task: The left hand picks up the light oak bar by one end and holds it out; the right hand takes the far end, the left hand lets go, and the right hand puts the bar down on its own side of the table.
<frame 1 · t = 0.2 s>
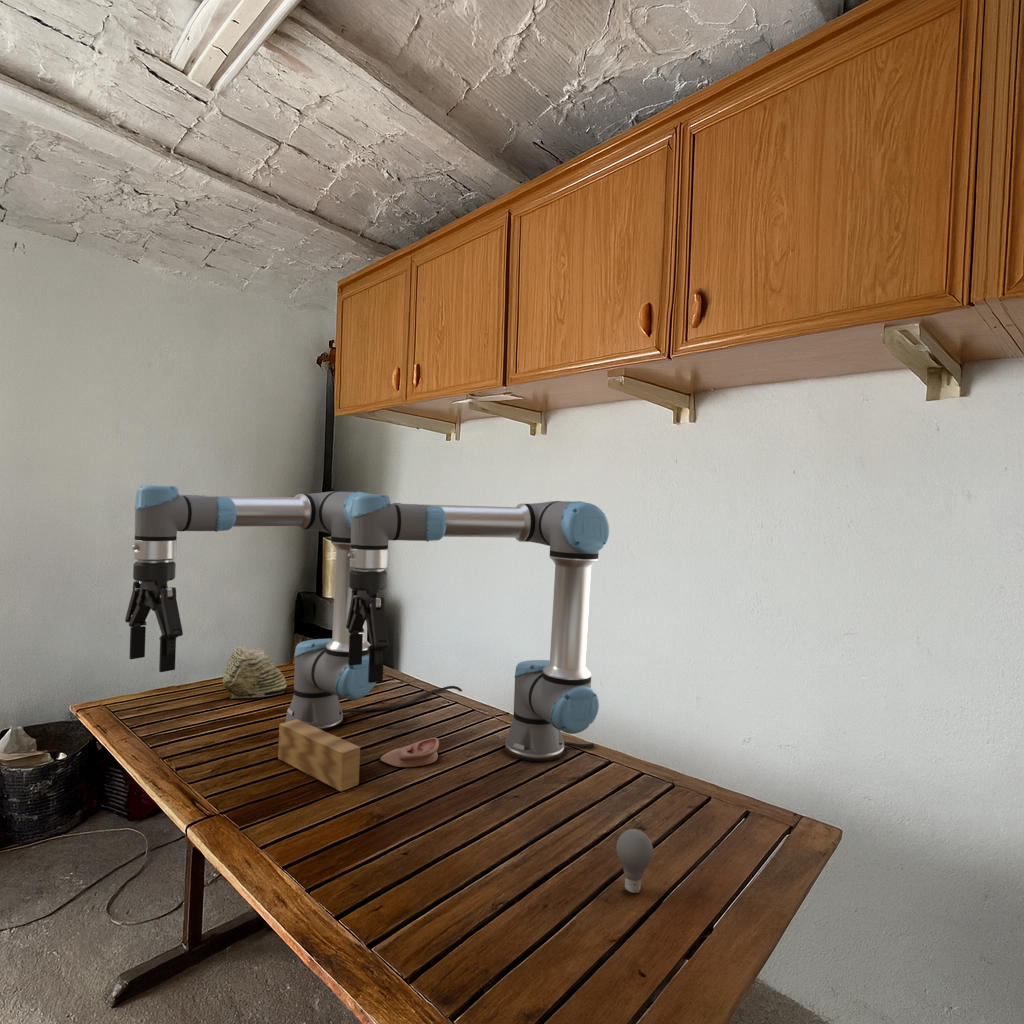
left hand: (151, 664, 130), 28 cm above the table, tool pointing down, fingers open, 13 cm apart
right hand: (364, 673, 130), 28 cm above the table, tool pointing down, fingers open, 13 cm apart
fossil: (254, 694, 198), on the table
anatomical model: (409, 759, 155), on the table
light bulb: (632, 891, 106), on the table
bar: (316, 771, 146), on the table
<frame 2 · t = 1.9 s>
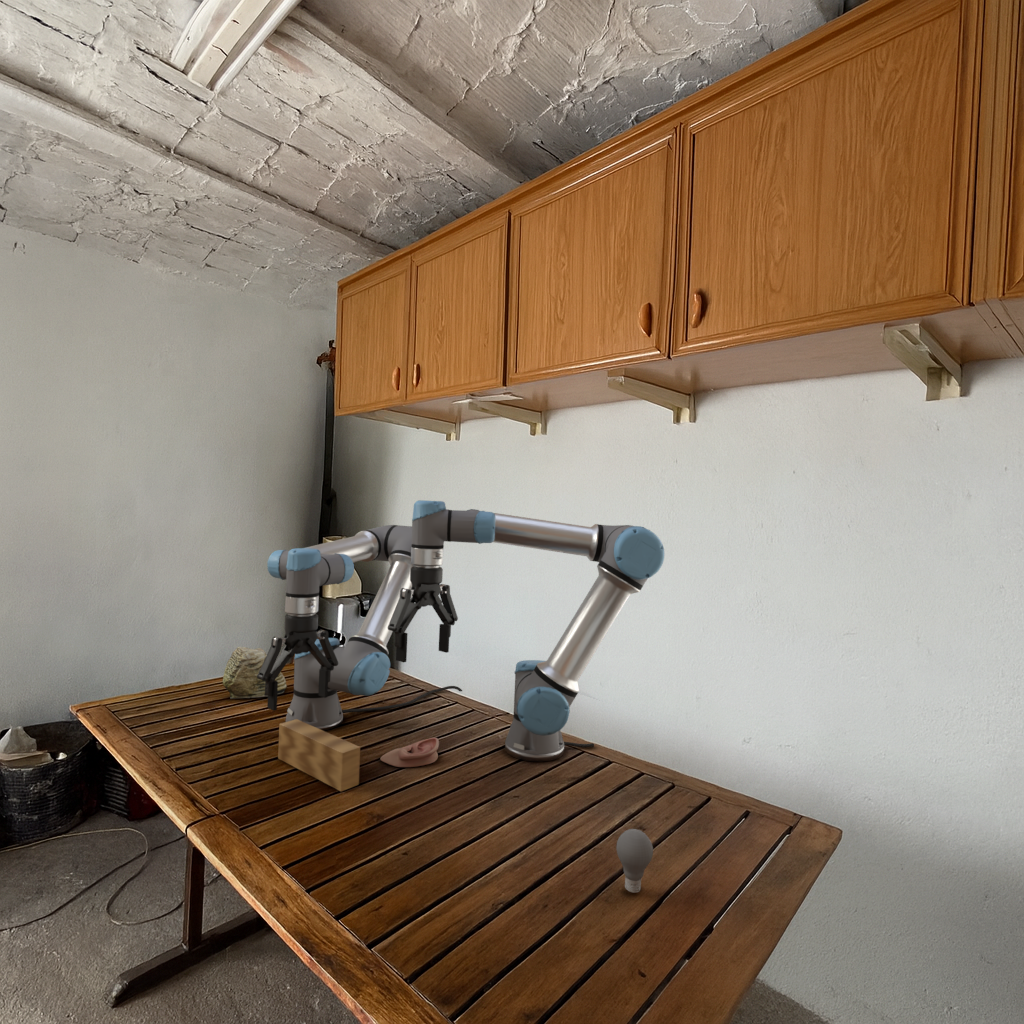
left hand: (298, 702, 151), 14 cm above the table, tool pointing down, fingers open, 13 cm apart
right hand: (423, 656, 149), 27 cm above the table, tool pointing down, fingers open, 13 cm apart
nothing on the table moved.
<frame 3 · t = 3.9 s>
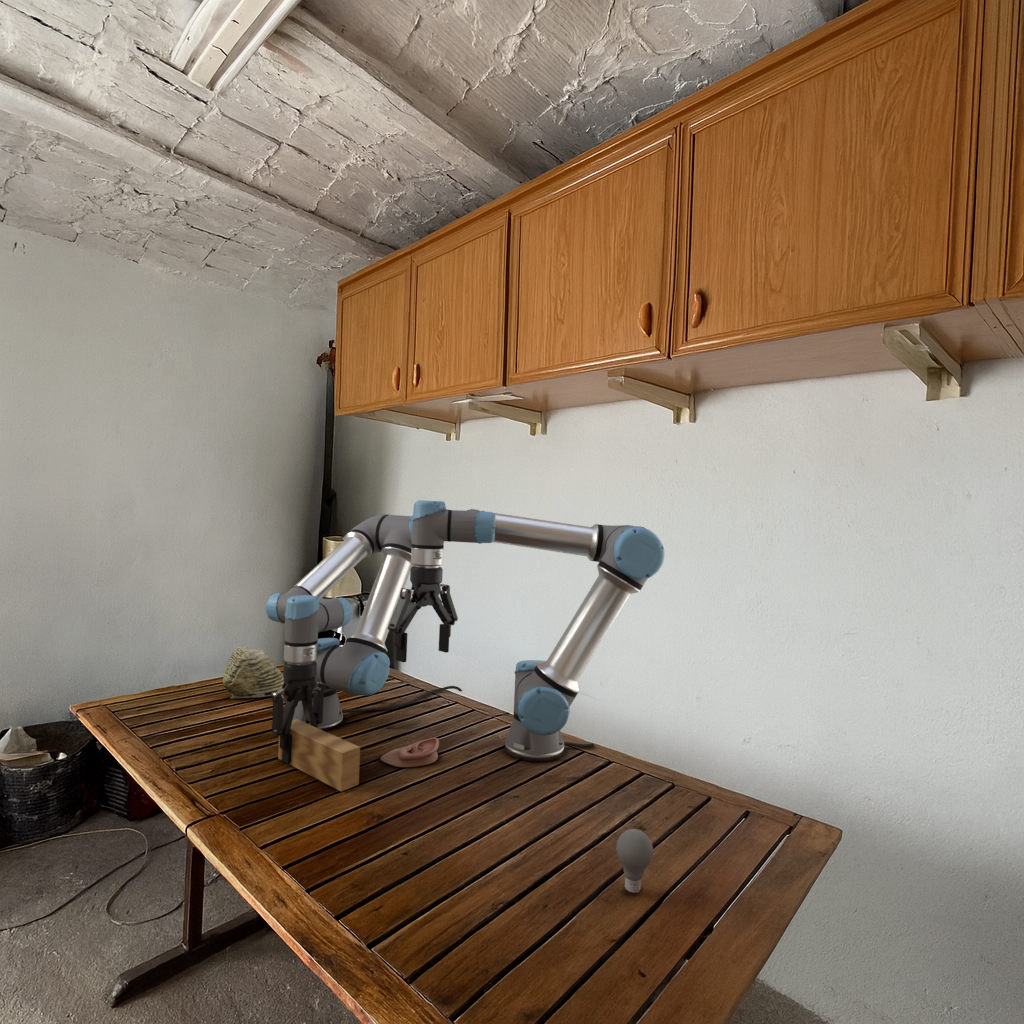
left hand: (296, 758, 151), 1 cm above the table, tool pointing down, fingers closed on bar, 5 cm apart
right hand: (423, 656, 149), 27 cm above the table, tool pointing down, fingers open, 13 cm apart
bar: (316, 771, 146), on the table, touching left hand
everything else where it was.
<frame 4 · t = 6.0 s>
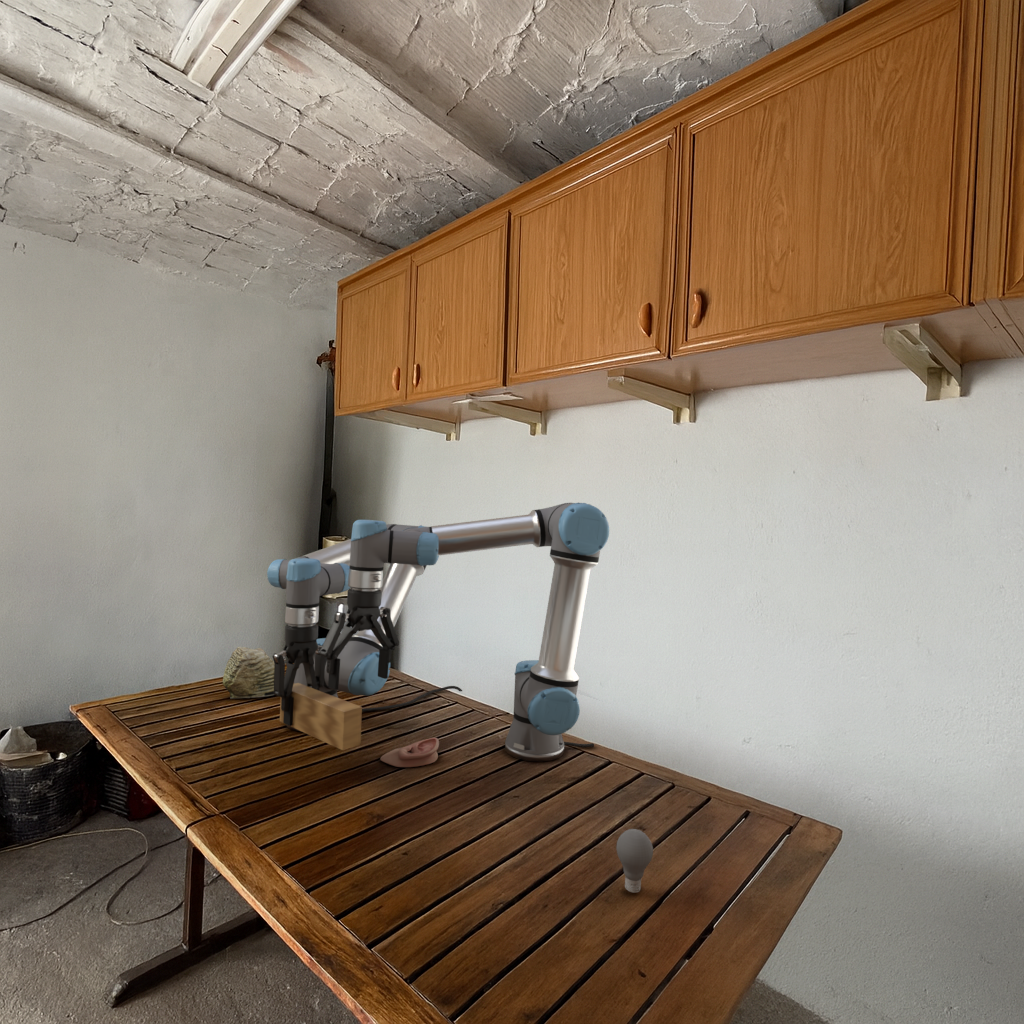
left hand: (298, 720, 151), 10 cm above the table, tool pointing down, fingers closed on bar, 5 cm apart
right hand: (358, 682, 143), 22 cm above the table, tool pointing down, fingers open, 13 cm apart
bar: (318, 732, 146), point 9 cm above the table, touching left hand
everything else where it was.
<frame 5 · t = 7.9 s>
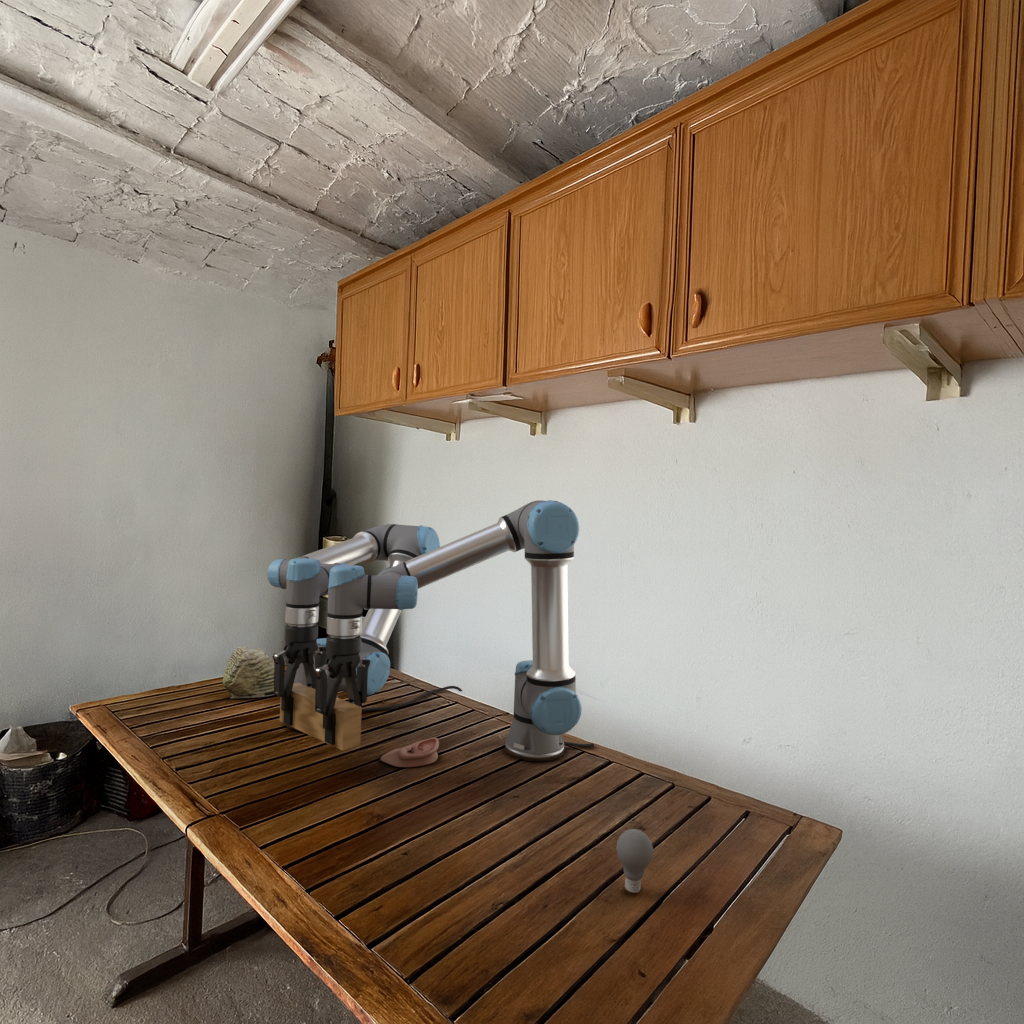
left hand: (298, 720, 151), 10 cm above the table, tool pointing down, fingers closed on bar, 5 cm apart
right hand: (340, 739, 141), 10 cm above the table, tool pointing down, fingers closed on bar, 5 cm apart
bar: (318, 732, 146), point 9 cm above the table, touching left hand, right hand
everything else where it was.
when the left hand's fingers open (10 cm above the table, at t = 8.6 s): bar stays where it is, held by the right hand.
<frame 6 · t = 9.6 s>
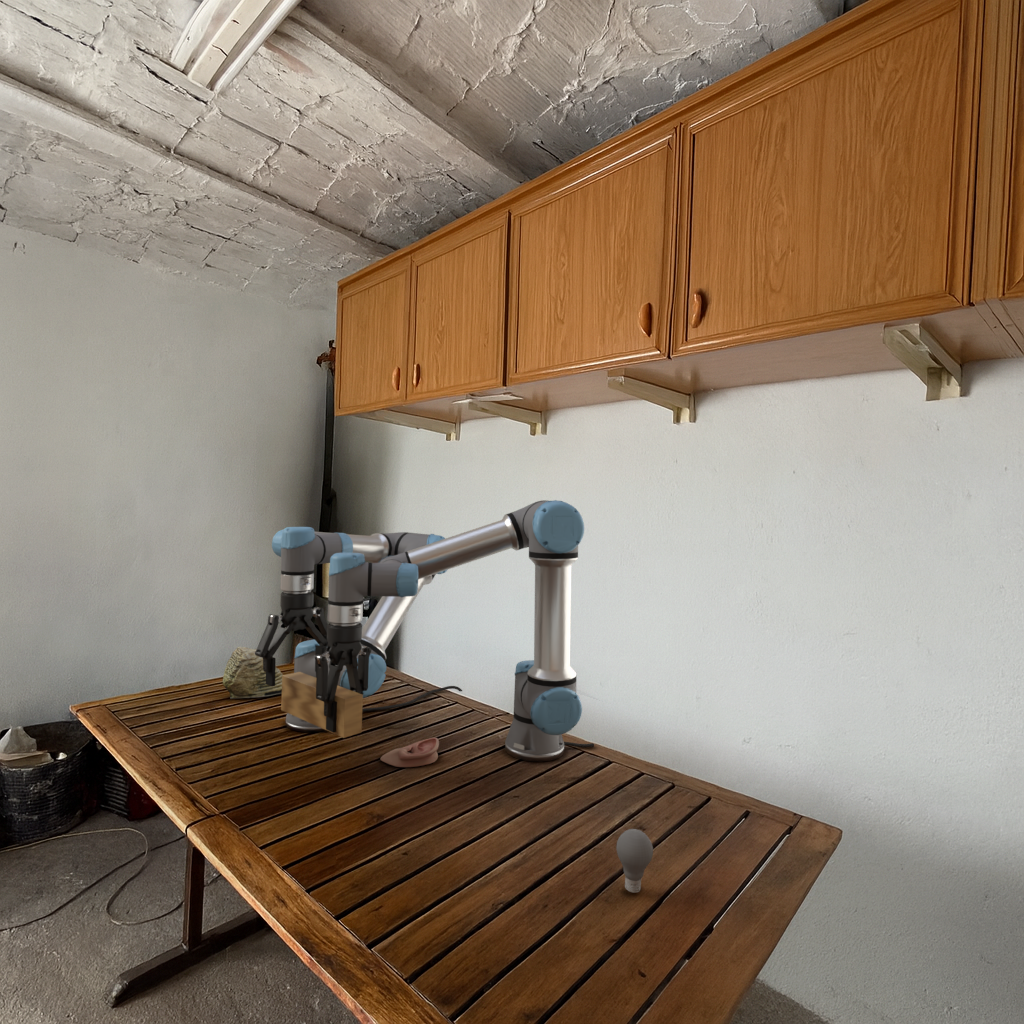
left hand: (295, 678, 153), 19 cm above the table, tool pointing down, fingers open, 13 cm apart
right hand: (341, 727, 141), 12 cm above the table, tool pointing down, fingers closed on bar, 5 cm apart
bar: (319, 720, 146), point 12 cm above the table, touching right hand
everything else where it was.
when the right hand's fingers open (2 cm above the table, at t = 12.1 s): bar stays where it is, on the table.
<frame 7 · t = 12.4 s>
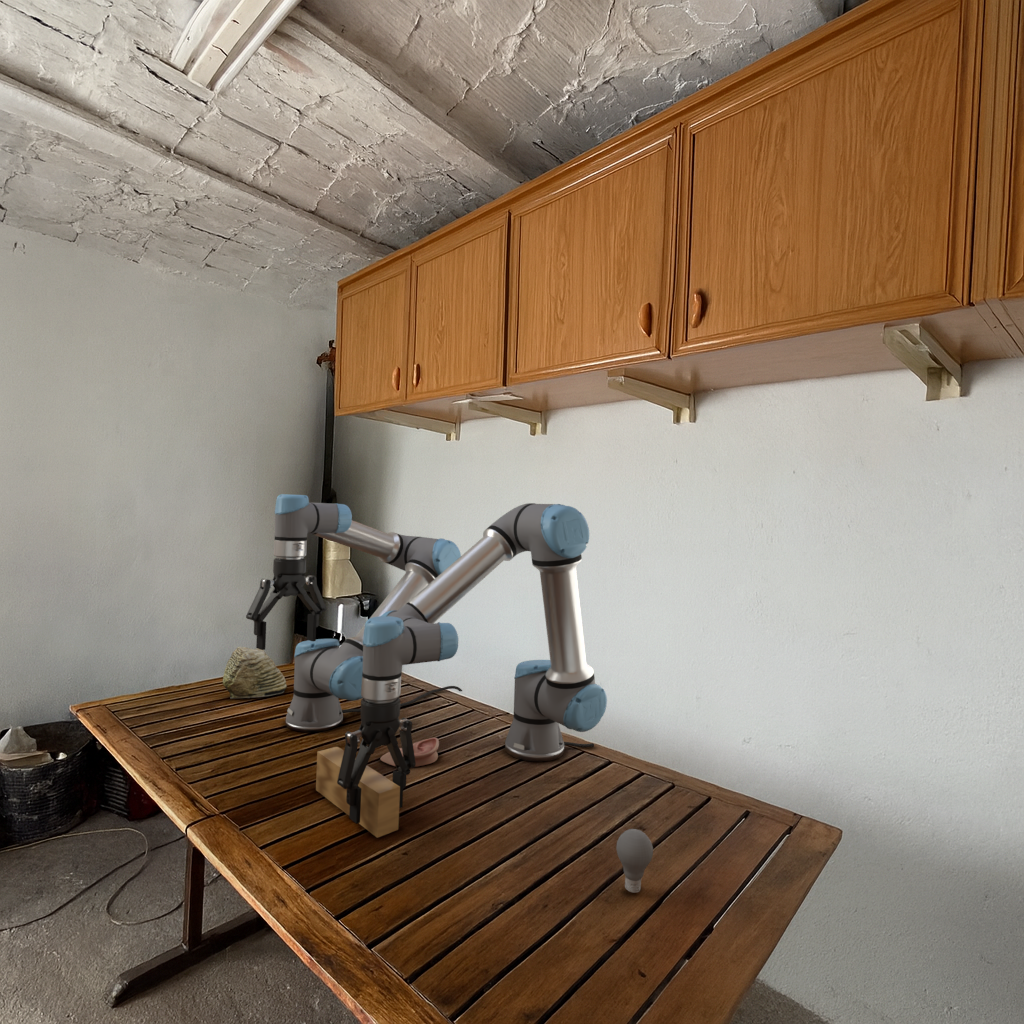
left hand: (286, 644, 154), 27 cm above the table, tool pointing down, fingers open, 13 cm apart
right hand: (376, 812, 123), 2 cm above the table, tool pointing down, fingers open, 9 cm apart
bar: (354, 808, 129), on the table
everything else where it was.
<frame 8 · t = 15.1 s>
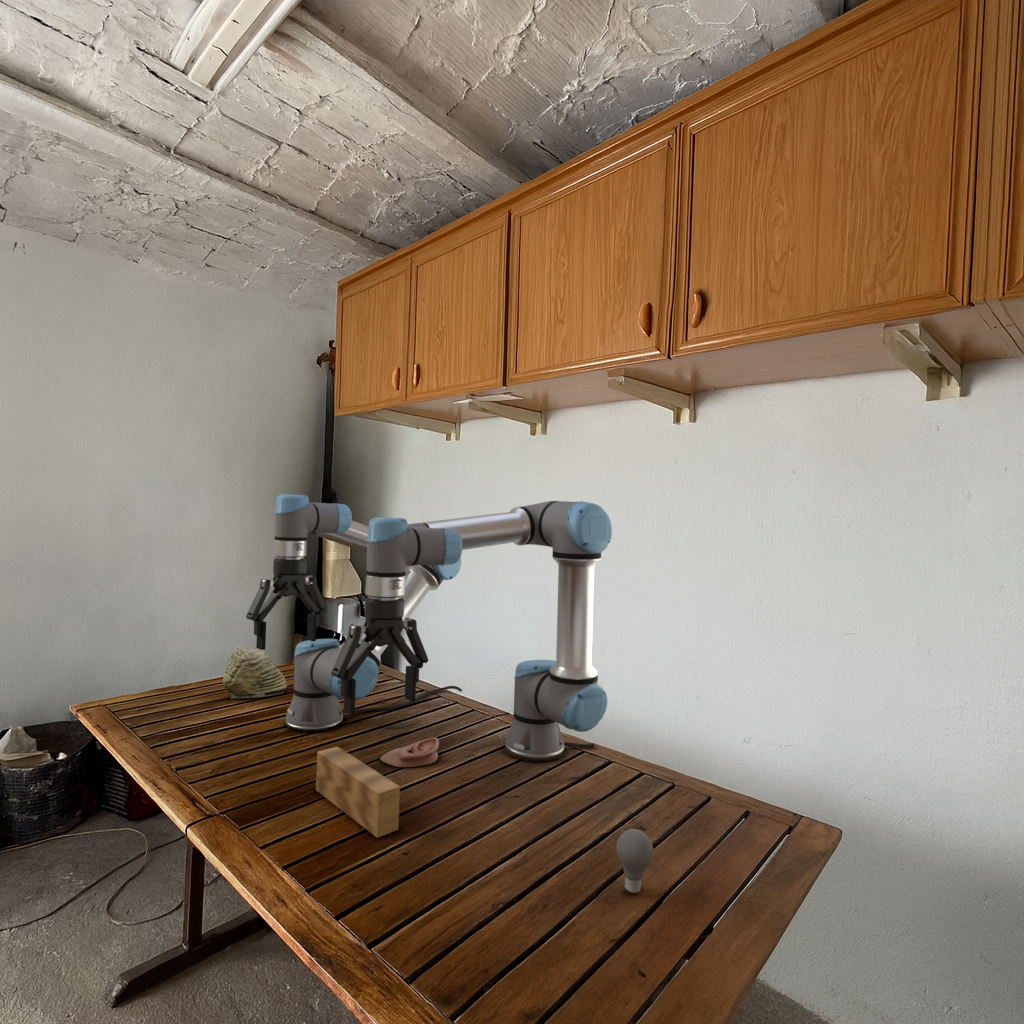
left hand: (286, 644, 154), 27 cm above the table, tool pointing down, fingers open, 13 cm apart
right hand: (380, 706, 123), 23 cm above the table, tool pointing down, fingers open, 13 cm apart
nothing on the table moved.
at the end: bar inside the target area (8.1 cm from its centre), on the table; the left hand is holding nothing; the right hand is holding nothing; bar at rest at the end (0.0 cm/s) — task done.
